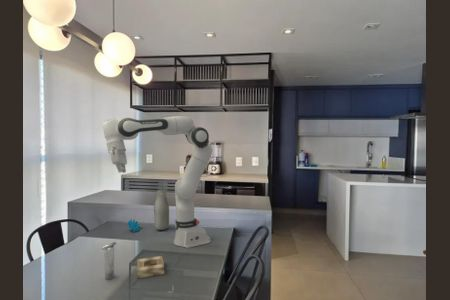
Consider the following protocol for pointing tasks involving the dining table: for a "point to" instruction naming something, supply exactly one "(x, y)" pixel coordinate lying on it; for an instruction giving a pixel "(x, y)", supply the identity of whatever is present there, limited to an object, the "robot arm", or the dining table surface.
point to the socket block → (150, 267)
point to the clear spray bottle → (109, 261)
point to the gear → (134, 225)
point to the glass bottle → (161, 211)
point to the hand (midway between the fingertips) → (122, 172)
